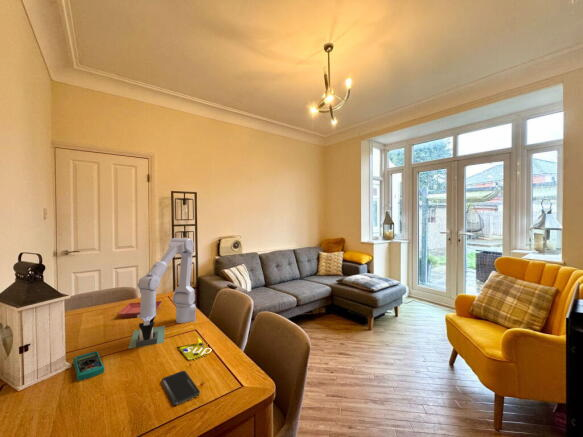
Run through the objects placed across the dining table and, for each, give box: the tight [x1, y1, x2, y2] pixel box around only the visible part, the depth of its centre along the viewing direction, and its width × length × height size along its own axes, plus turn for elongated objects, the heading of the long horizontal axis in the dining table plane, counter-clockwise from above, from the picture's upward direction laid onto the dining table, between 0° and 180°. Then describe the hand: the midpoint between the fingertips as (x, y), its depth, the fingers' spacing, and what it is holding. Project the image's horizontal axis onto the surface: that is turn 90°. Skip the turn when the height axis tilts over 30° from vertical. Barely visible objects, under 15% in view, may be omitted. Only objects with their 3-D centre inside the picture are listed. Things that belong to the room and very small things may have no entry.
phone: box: [161, 370, 201, 407], centre depth 81 cm, size 8×1×15 cm
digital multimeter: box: [72, 351, 105, 382], centre depth 90 cm, size 7×15×3 cm, turn 45°
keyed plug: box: [139, 327, 154, 340], centre depth 108 cm, size 5×4×7 cm
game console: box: [176, 336, 213, 361], centre depth 106 cm, size 18×11×2 cm, turn 44°
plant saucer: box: [118, 300, 163, 319], centre depth 144 cm, size 18×18×3 cm
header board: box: [128, 325, 166, 349], centre depth 113 cm, size 13×18×3 cm
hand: (147, 335), depth 108 cm, fingers open, 7 cm apart
